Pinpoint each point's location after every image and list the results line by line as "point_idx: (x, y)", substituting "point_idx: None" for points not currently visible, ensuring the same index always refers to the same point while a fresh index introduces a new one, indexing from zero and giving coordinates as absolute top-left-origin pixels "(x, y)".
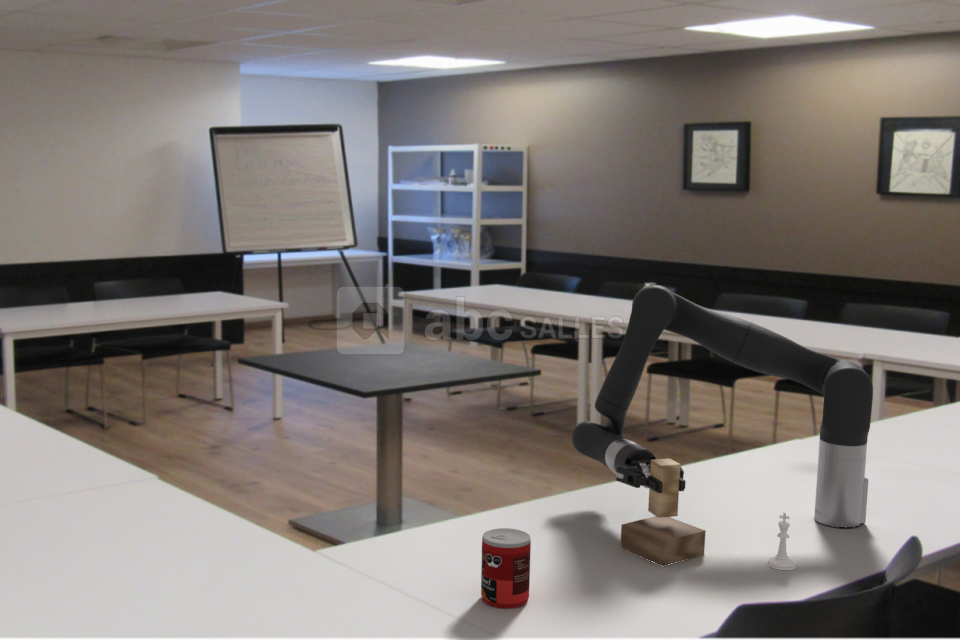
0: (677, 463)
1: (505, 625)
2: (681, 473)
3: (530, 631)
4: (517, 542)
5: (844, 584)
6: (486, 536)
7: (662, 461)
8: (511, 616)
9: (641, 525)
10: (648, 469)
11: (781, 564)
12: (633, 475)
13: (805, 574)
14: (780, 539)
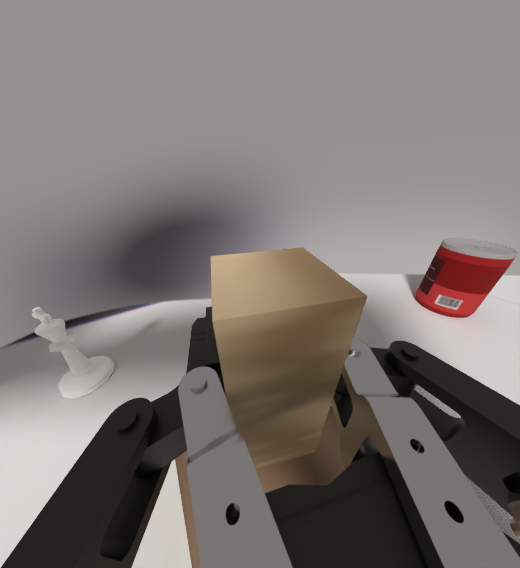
0: (218, 261)
1: (408, 278)
2: (142, 403)
3: (386, 274)
4: (452, 242)
5: (84, 323)
6: (500, 246)
7: (288, 277)
8: (413, 286)
9: (327, 461)
10: (369, 400)
11: (103, 358)
12: (430, 359)
13: (94, 347)
14: (71, 347)
